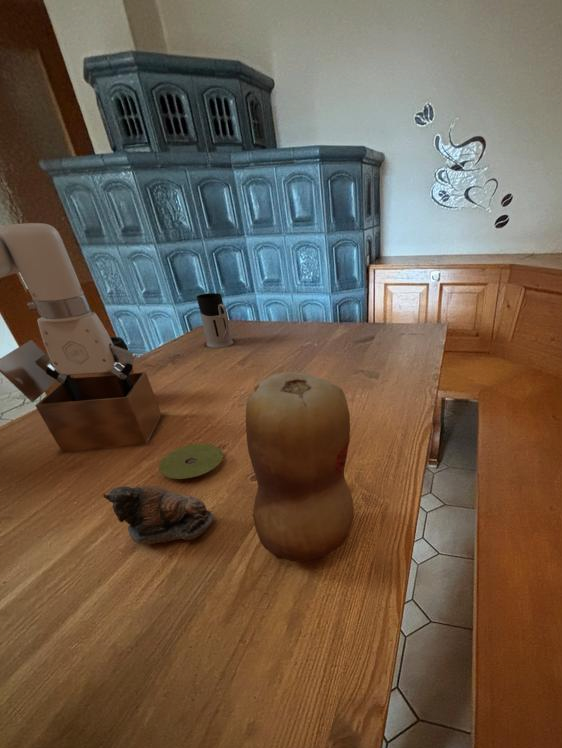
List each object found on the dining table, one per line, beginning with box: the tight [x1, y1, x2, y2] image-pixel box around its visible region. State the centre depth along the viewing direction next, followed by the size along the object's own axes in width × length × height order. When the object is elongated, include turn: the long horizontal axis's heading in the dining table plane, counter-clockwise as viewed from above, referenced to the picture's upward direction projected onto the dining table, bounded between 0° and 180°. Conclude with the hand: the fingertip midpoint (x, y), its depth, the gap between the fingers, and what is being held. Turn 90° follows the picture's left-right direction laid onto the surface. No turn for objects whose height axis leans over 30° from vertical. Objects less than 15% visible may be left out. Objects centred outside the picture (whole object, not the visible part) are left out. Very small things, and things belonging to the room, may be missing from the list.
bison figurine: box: [102, 484, 214, 546], centre depth 55 cm, size 12×7×10 cm, turn 108°
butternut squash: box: [245, 371, 355, 562], centre depth 49 cm, size 14×13×25 cm
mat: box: [158, 443, 224, 480], centre depth 71 cm, size 11×11×2 cm
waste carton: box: [34, 371, 162, 453], centre depth 80 cm, size 16×13×10 cm
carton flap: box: [0, 339, 58, 403], centre depth 72 cm, size 8×13×1 cm
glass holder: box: [196, 292, 234, 349], centre depth 123 cm, size 9×14×15 cm, turn 43°
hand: (104, 397), depth 78 cm, fingers open, 9 cm apart
